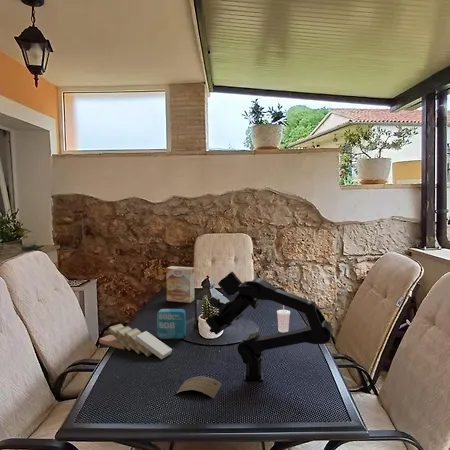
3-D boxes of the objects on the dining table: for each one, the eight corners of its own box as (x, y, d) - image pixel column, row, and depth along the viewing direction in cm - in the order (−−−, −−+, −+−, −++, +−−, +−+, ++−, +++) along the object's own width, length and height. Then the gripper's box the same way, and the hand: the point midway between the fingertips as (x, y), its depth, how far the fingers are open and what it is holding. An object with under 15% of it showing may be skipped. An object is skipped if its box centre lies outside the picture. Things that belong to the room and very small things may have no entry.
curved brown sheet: (173, 396, 124) (172, 388, 124) (182, 381, 134) (182, 373, 134) (217, 401, 121) (217, 393, 121) (224, 385, 131) (224, 377, 131)
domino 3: (159, 347, 156) (136, 327, 163) (149, 352, 151) (125, 332, 158) (158, 351, 157) (134, 331, 163) (147, 356, 152) (124, 336, 158)
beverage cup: (285, 327, 184) (286, 298, 182) (292, 332, 178) (293, 301, 177) (274, 329, 182) (274, 299, 180) (280, 333, 176) (281, 303, 175)
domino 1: (141, 342, 162) (120, 323, 169) (130, 346, 157) (109, 327, 164) (140, 346, 162) (119, 327, 169) (129, 350, 157) (108, 331, 164)
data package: (157, 338, 171) (156, 311, 170) (159, 334, 175) (158, 308, 174) (184, 338, 171) (184, 311, 170) (185, 334, 175) (185, 308, 174)
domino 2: (150, 345, 159) (128, 326, 166) (139, 350, 154) (117, 330, 160) (149, 349, 160) (126, 329, 166) (138, 354, 155) (115, 334, 161)
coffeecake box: (166, 301, 229) (165, 268, 227) (171, 297, 236) (171, 265, 234) (190, 303, 224) (189, 269, 223) (194, 299, 231) (194, 267, 229)
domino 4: (172, 349, 155) (146, 330, 160) (163, 355, 149) (136, 335, 155) (170, 353, 155) (144, 334, 161) (161, 359, 150) (135, 339, 155)
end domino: (133, 340, 164) (109, 334, 171) (123, 345, 159) (99, 338, 166) (133, 345, 165) (110, 338, 172) (123, 350, 159) (99, 343, 166)
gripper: (235, 282, 146) (209, 306, 152) (210, 293, 129) (182, 321, 136) (254, 305, 143) (227, 329, 149) (231, 320, 127) (202, 347, 133)
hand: (210, 331), depth 142 cm, fingers closed
